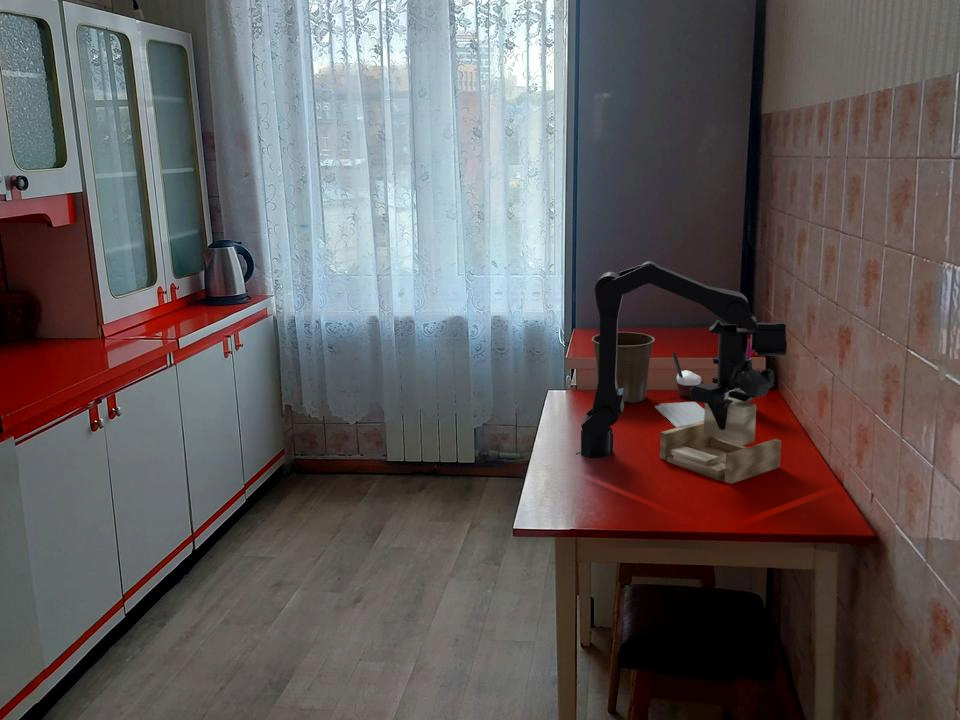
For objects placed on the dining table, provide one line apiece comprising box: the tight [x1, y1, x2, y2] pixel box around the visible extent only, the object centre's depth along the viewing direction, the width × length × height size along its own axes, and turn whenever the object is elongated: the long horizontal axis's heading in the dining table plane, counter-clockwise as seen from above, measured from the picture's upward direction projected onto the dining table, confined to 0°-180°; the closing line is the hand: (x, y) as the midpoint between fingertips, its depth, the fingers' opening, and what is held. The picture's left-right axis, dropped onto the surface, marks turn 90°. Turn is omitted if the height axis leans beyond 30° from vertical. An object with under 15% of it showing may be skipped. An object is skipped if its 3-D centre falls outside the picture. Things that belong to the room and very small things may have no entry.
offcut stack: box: [666, 446, 726, 482], centre depth 188 cm, size 4×14×3 cm, turn 35°
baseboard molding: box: [650, 396, 705, 428], centre depth 220 cm, size 31×3×12 cm
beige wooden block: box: [704, 397, 757, 446], centre depth 191 cm, size 4×10×8 cm, turn 35°
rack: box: [659, 420, 782, 485], centre depth 191 cm, size 15×19×6 cm
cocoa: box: [671, 351, 704, 398], centre depth 243 cm, size 10×6×12 cm, turn 86°
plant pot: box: [591, 331, 656, 404], centre depth 241 cm, size 16×16×16 cm
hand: (729, 427), depth 192 cm, fingers closed on beige wooden block, 4 cm apart
